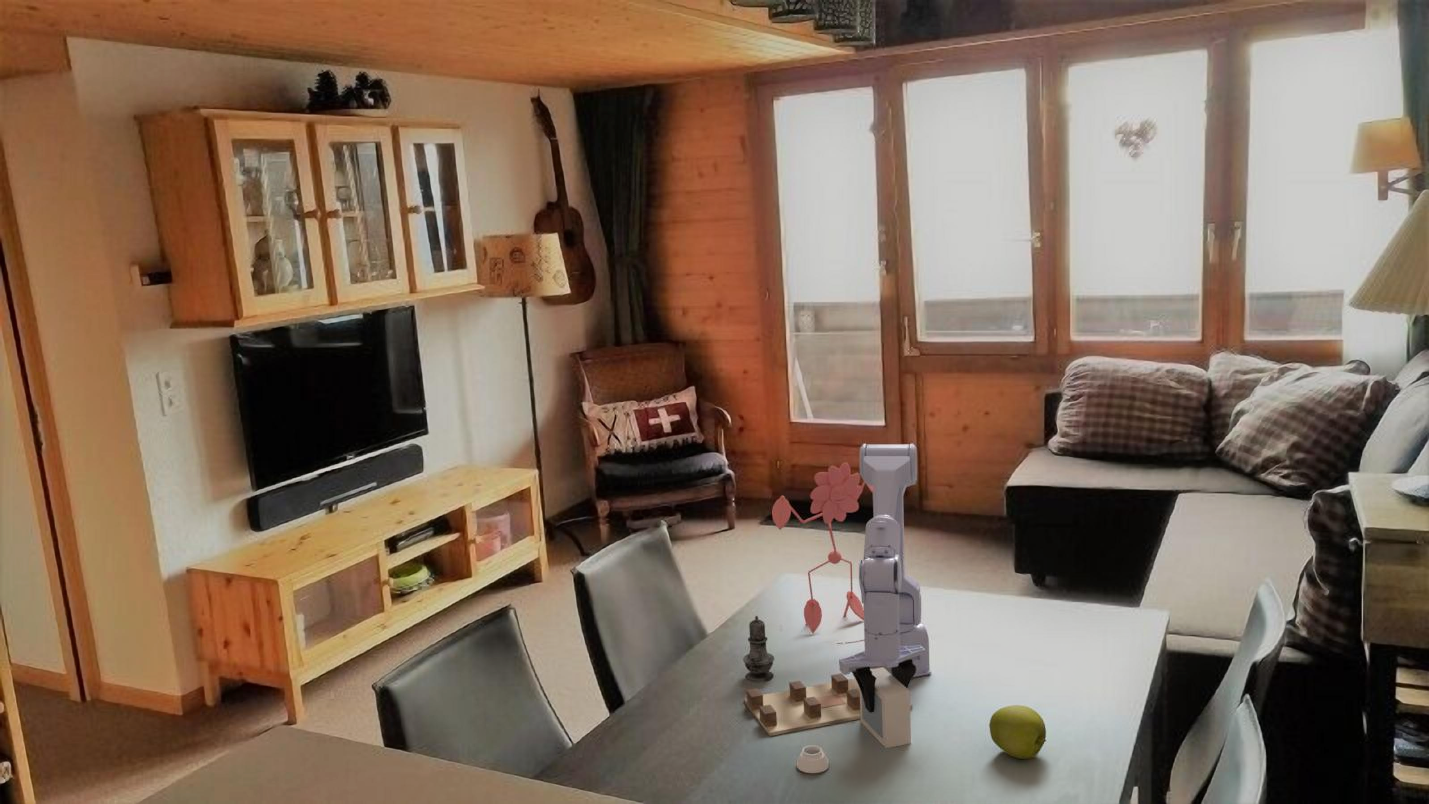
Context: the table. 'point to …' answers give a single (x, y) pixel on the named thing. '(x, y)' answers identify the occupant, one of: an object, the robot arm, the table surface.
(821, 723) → the notch rack
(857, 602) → the pink flower cutout
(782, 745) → the table surface
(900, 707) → the tall beige pillar block
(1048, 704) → the table surface
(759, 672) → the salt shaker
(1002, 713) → the apple
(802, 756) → the lidless jar
